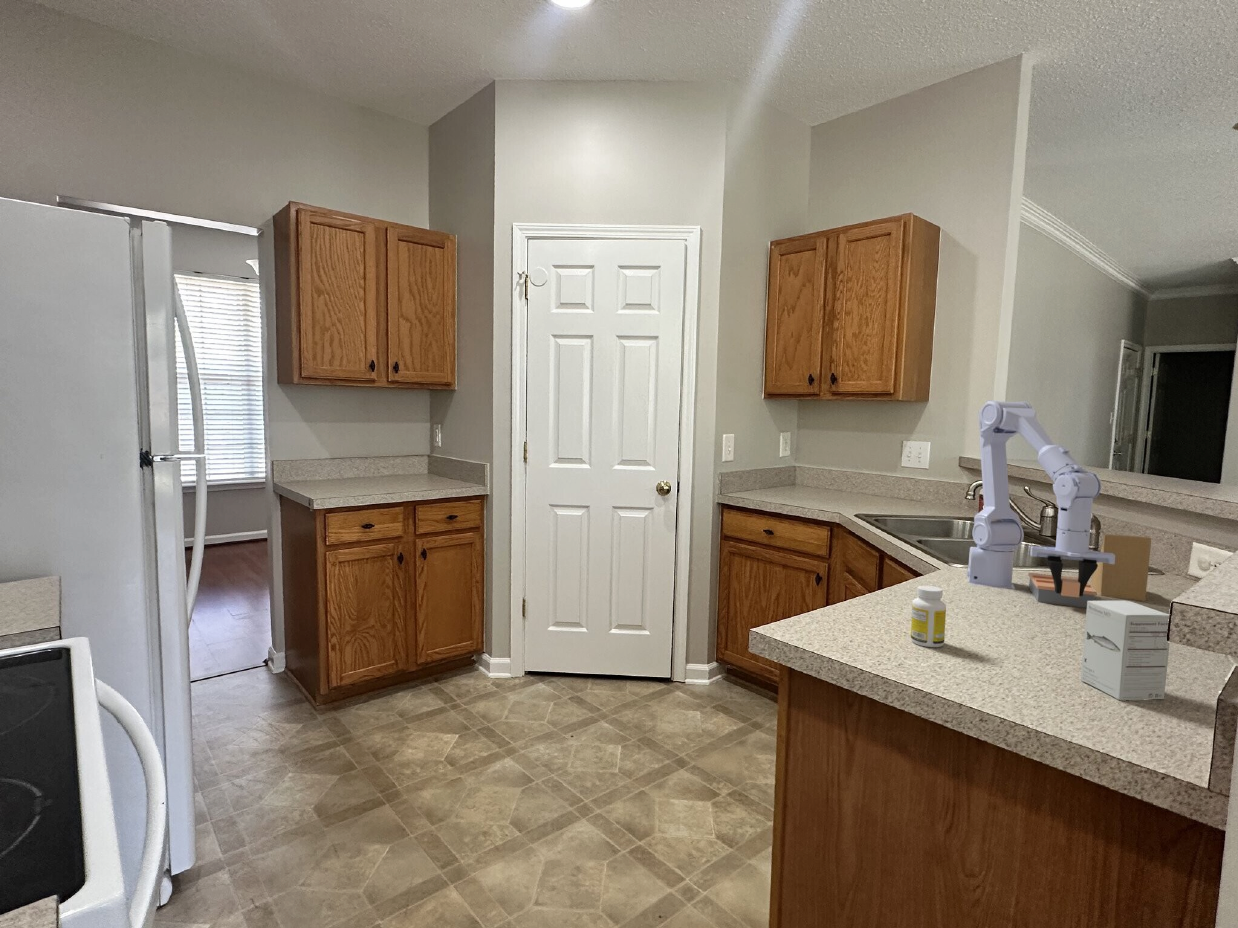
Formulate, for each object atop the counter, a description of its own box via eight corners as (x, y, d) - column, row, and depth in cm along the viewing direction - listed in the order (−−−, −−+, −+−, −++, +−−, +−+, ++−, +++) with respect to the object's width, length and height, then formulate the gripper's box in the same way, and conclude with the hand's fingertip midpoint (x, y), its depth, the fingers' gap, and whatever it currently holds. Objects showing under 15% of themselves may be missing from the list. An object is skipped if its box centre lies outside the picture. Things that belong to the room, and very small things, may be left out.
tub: (1037, 604, 144) (1038, 588, 143) (1028, 590, 156) (1029, 575, 155) (1093, 611, 140) (1094, 594, 139) (1079, 596, 151) (1081, 581, 151)
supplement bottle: (941, 640, 119) (945, 586, 118) (946, 650, 113) (949, 593, 113) (908, 636, 120) (912, 582, 120) (911, 645, 115) (914, 590, 115)
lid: (1040, 592, 140) (1041, 578, 139) (1028, 575, 156) (1029, 562, 155) (1101, 599, 135) (1102, 585, 135) (1082, 581, 151) (1083, 568, 151)
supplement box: (1078, 680, 101) (1084, 599, 100) (1123, 680, 102) (1130, 599, 101) (1118, 701, 94) (1125, 614, 93) (1166, 701, 95) (1174, 614, 94)
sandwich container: (1131, 589, 160) (1136, 527, 159) (1146, 604, 147) (1152, 537, 146) (1087, 584, 164) (1092, 524, 163) (1099, 598, 151) (1104, 533, 149)
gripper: (1035, 529, 138) (1031, 593, 139) (1121, 535, 132) (1115, 603, 133) (1030, 524, 144) (1026, 585, 145) (1111, 530, 138) (1106, 594, 139)
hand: (1068, 593), depth 139 cm, fingers open, 3 cm apart
